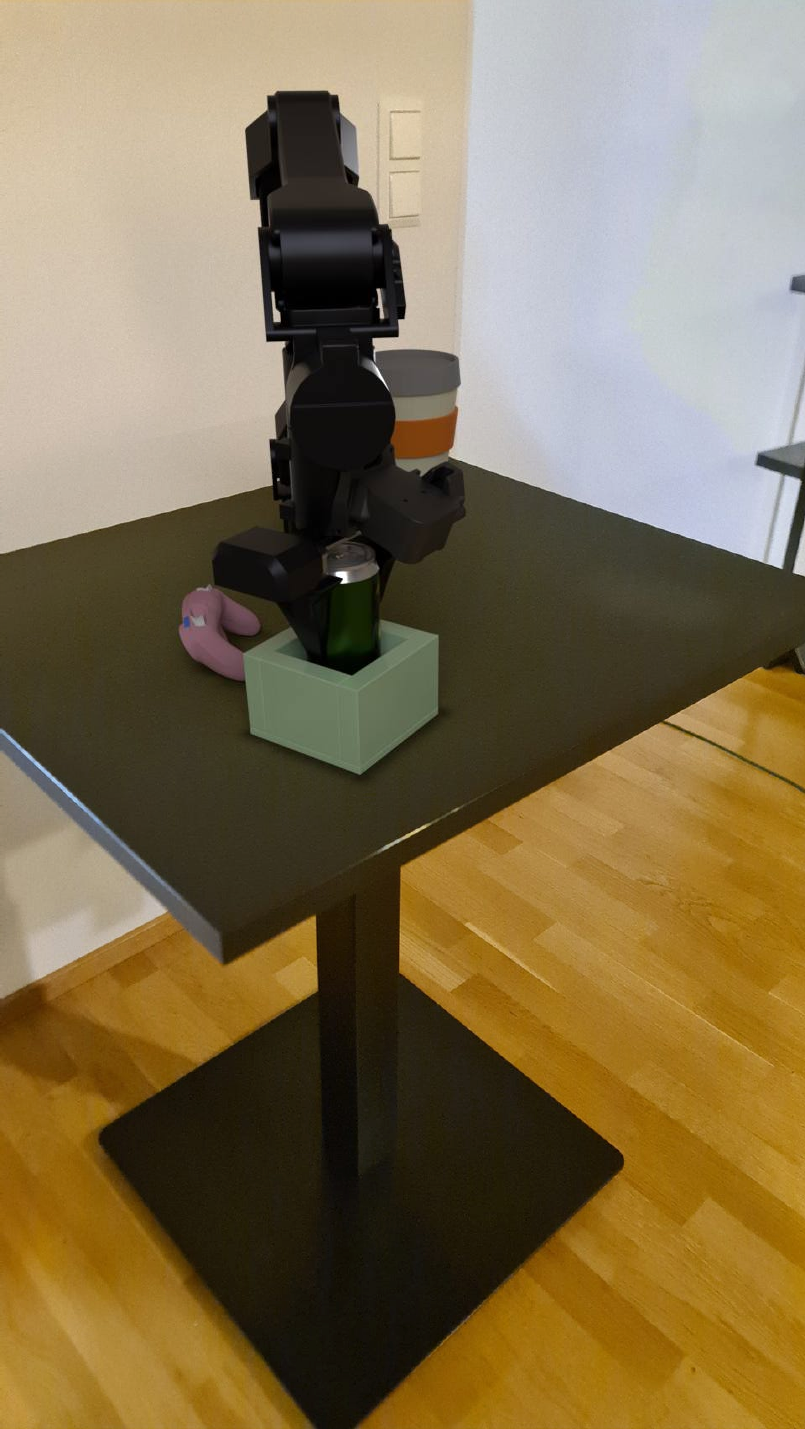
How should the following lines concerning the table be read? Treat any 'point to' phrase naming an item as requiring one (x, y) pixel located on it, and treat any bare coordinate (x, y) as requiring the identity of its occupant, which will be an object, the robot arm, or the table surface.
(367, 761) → the holder
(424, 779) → the table surface
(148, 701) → the table surface
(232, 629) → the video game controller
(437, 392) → the reusable coffee cup
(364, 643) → the beer can
